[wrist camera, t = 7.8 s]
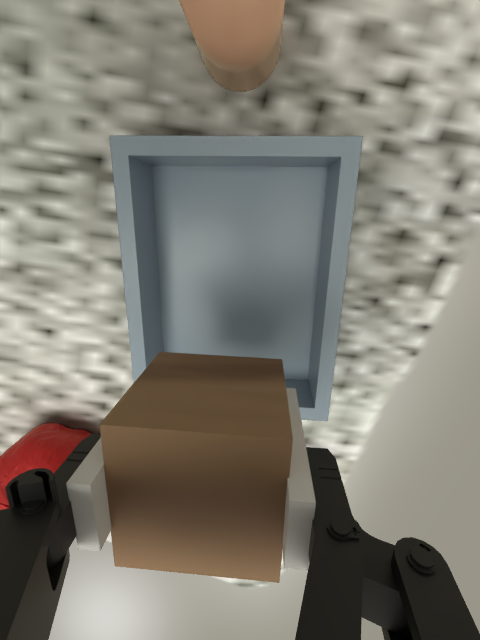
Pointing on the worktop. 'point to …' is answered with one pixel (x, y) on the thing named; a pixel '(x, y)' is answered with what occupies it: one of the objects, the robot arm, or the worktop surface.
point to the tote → (238, 249)
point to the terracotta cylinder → (237, 39)
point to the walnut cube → (200, 466)
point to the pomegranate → (38, 453)
